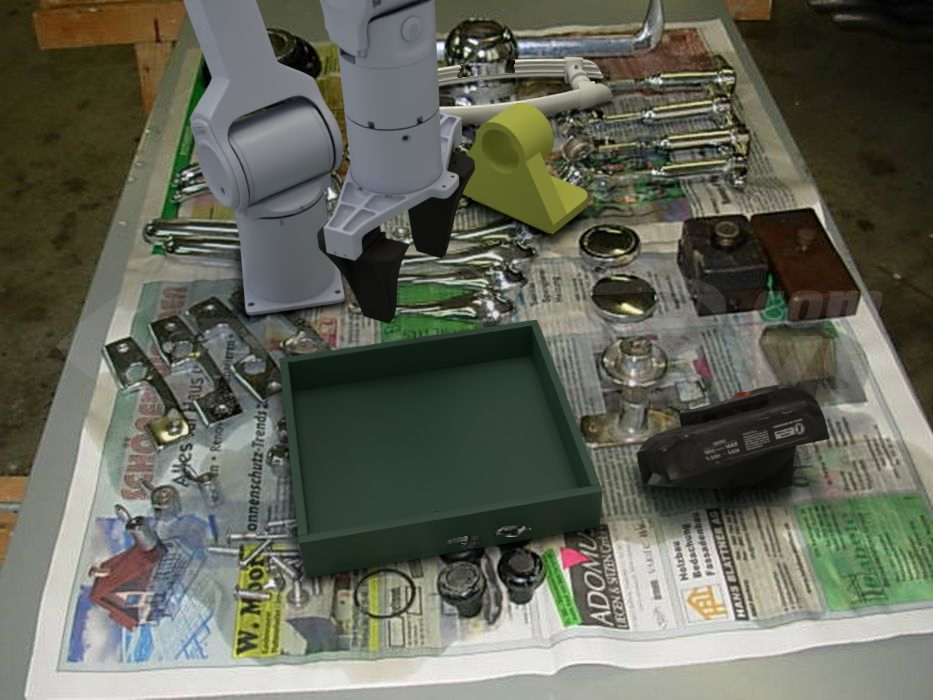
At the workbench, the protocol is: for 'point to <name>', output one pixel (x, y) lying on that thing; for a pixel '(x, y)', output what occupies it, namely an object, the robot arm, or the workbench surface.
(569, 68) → the door handle
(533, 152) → the bracket
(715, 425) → the battery
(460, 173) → the robot arm
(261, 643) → the workbench surface
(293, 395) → the parts tray
